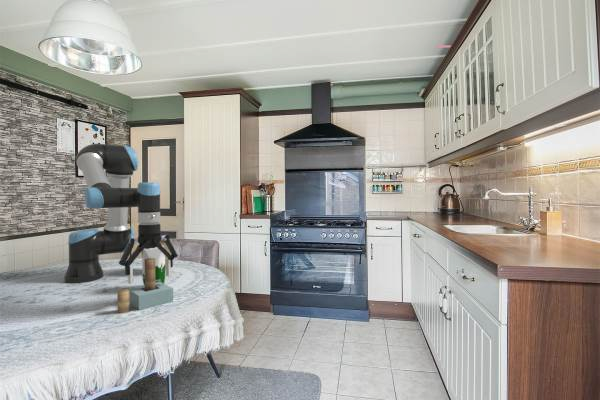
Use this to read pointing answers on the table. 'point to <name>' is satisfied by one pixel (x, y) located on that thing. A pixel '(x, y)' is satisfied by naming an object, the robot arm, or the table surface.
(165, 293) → the socket block
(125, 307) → the oak pin short
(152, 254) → the milk carton
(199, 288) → the table surface
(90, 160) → the robot arm
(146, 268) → the walnut pin long
